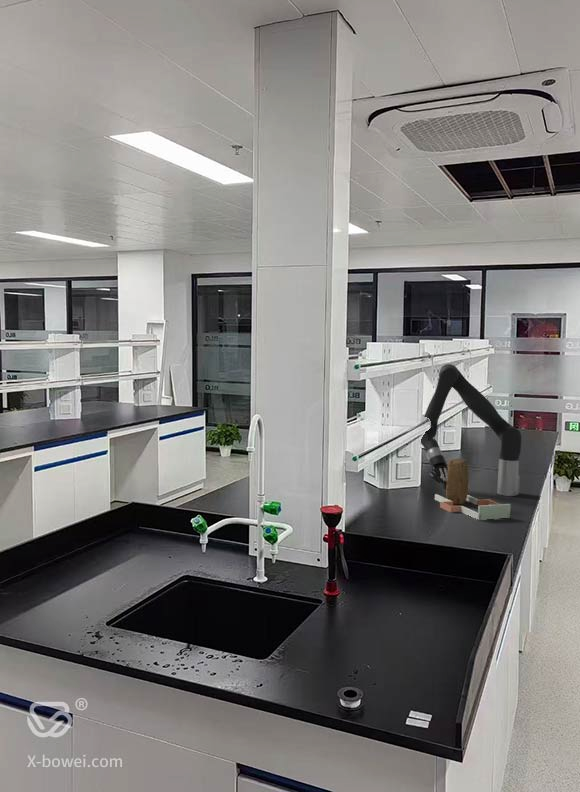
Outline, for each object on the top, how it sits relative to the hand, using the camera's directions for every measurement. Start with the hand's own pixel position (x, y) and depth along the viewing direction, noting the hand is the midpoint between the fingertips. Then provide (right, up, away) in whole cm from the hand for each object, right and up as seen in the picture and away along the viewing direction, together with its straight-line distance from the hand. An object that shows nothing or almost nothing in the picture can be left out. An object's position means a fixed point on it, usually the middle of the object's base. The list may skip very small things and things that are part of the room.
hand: (448, 489), depth 316 cm
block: (+2, -5, -7) cm, 9 cm away
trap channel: (+6, -6, -18) cm, 20 cm away
